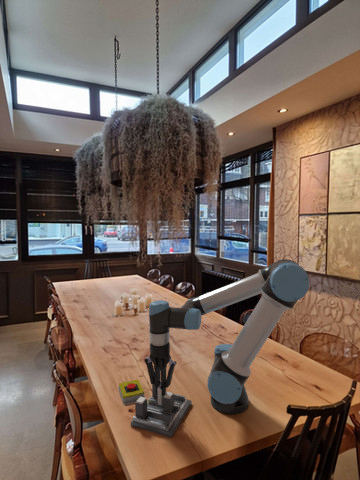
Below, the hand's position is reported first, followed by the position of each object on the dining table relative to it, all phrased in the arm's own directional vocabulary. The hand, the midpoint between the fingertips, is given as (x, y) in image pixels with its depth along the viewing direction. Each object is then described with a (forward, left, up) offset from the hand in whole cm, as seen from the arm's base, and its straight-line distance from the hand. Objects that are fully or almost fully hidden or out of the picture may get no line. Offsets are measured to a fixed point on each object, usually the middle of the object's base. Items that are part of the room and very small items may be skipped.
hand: (161, 402), depth 110 cm
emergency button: (+18, -8, -5) cm, 21 cm away
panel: (-1, 0, -4) cm, 4 cm away
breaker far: (+5, -6, -3) cm, 9 cm away
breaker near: (+5, +7, -3) cm, 9 cm away
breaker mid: (-3, 0, -3) cm, 4 cm away
